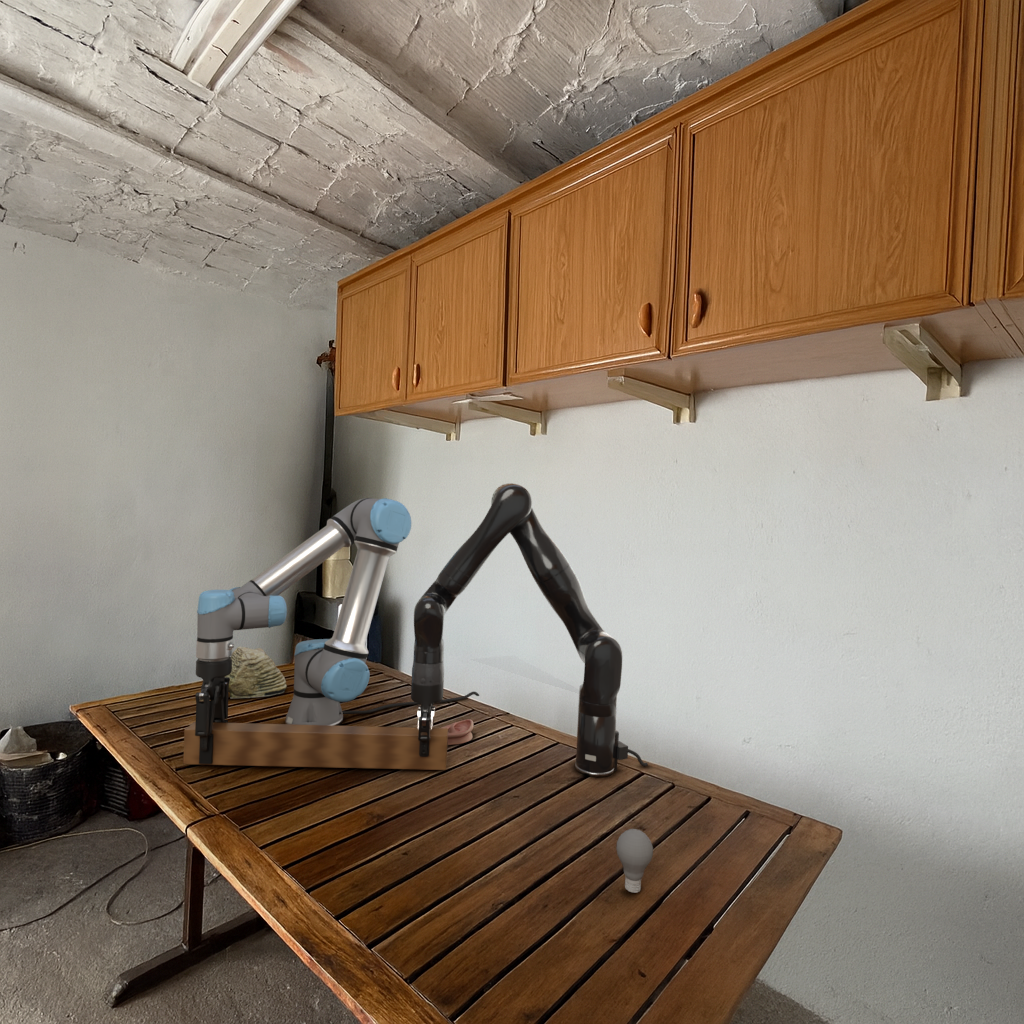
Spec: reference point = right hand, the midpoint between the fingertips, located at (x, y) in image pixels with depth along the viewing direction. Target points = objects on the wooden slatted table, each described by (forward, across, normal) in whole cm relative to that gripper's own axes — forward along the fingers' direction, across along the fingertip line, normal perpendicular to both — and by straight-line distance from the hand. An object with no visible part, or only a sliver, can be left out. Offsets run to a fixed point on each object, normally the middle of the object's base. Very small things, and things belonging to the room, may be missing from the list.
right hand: (424, 750), depth 149 cm
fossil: (+4, +52, +57) cm, 78 cm away
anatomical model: (+5, +20, -4) cm, 21 cm away
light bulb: (+5, -46, -38) cm, 60 cm away
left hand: (+2, 0, +49) cm, 49 cm away
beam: (+3, 0, +25) cm, 25 cm away
